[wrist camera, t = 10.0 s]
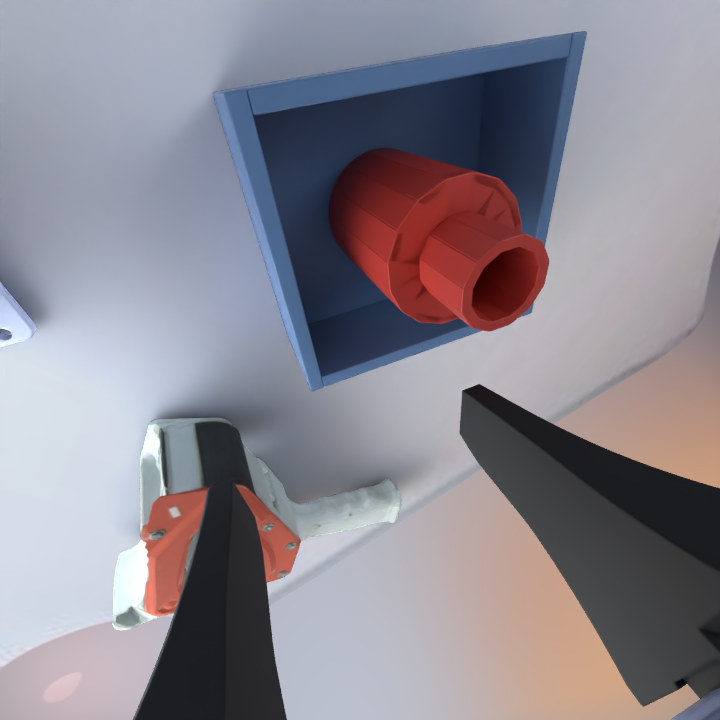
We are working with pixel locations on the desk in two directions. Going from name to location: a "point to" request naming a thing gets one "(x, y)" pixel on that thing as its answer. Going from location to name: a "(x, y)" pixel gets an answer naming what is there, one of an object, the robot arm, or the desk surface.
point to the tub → (401, 132)
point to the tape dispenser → (186, 503)
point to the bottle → (437, 239)
